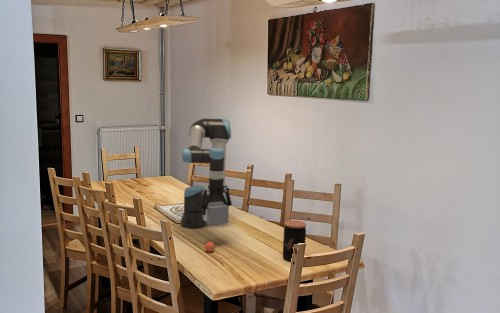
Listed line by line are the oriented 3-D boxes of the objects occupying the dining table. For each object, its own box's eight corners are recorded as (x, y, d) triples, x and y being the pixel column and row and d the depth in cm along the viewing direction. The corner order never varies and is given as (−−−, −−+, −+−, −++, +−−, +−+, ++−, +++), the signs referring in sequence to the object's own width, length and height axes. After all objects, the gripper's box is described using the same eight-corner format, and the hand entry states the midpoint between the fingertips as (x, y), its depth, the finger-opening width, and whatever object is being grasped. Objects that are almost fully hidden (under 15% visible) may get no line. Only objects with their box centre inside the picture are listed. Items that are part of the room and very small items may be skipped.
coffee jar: (278, 258, 233) (279, 222, 231) (292, 253, 241) (293, 219, 238) (294, 264, 226) (296, 227, 223) (308, 259, 233) (310, 223, 231)
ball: (203, 250, 240) (203, 241, 239) (212, 249, 242) (213, 240, 241) (206, 253, 236) (207, 244, 235) (216, 252, 238) (216, 243, 237)
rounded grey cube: (202, 219, 251) (202, 203, 250) (220, 217, 256) (220, 201, 254) (210, 224, 242) (210, 208, 241) (228, 222, 247) (228, 206, 245)
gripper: (198, 181, 237) (197, 223, 240) (239, 178, 247) (237, 219, 251) (192, 178, 243) (192, 219, 247) (233, 175, 254) (231, 215, 257)
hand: (215, 219), depth 249 cm, fingers closed on rounded grey cube, 10 cm apart
